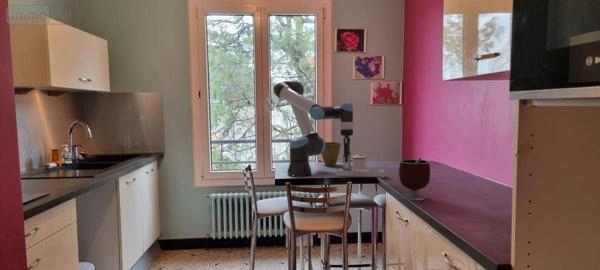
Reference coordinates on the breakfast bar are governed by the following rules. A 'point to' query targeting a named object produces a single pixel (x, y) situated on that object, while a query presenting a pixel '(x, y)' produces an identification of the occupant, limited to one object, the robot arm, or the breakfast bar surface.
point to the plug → (349, 165)
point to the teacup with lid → (359, 161)
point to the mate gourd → (414, 177)
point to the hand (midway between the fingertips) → (346, 166)
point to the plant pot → (331, 153)
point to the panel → (361, 173)
